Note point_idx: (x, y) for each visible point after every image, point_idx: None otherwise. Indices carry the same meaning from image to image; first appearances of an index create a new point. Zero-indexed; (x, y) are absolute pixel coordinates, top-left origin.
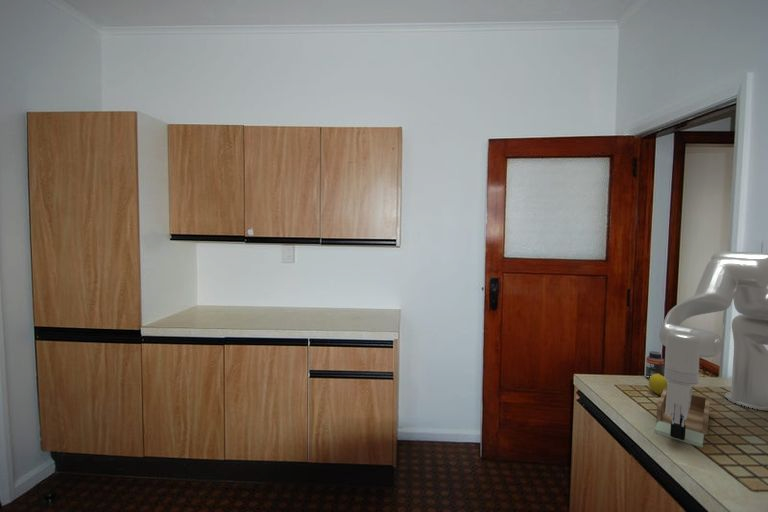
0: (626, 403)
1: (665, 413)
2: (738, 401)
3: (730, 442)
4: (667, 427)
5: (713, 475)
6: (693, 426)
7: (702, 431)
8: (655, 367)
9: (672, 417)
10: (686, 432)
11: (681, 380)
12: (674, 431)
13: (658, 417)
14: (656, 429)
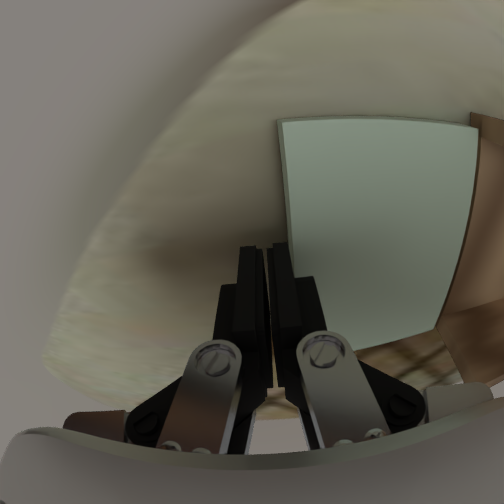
0: None
1: (16, 436)
2: None
3: (428, 360)
4: (409, 192)
5: (116, 363)
6: (493, 276)
7: (446, 325)
8: None
9: (164, 427)
10: (403, 287)
11: None
12: (218, 308)
13: (500, 132)
14: (287, 134)
